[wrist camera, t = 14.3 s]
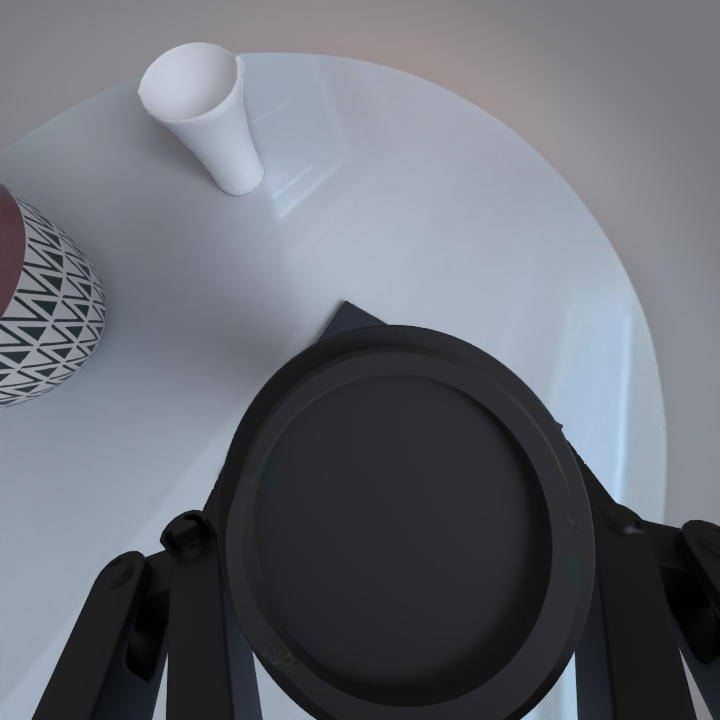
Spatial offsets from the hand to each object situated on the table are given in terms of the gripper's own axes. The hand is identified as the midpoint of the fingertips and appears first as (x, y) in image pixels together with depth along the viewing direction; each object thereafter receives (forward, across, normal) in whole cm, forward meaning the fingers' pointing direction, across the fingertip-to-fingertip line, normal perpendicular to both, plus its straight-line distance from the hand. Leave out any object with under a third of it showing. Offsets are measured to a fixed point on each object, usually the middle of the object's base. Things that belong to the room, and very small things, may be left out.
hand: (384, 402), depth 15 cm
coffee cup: (+2, 0, -6) cm, 7 cm away
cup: (+29, -14, +11) cm, 34 cm away
